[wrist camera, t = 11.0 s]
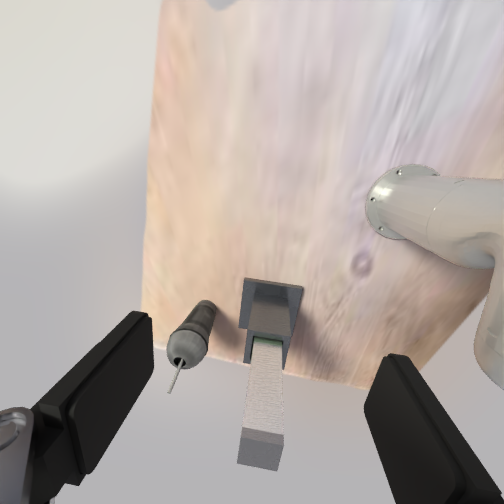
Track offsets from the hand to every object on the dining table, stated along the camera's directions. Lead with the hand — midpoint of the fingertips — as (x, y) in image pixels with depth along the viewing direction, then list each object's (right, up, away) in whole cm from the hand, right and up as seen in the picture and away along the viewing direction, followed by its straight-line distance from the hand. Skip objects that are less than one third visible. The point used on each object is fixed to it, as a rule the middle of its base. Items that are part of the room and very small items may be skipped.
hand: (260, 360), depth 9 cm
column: (+3, -10, +34) cm, 36 cm away
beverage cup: (-11, -8, +43) cm, 45 cm away
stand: (+3, -7, +41) cm, 42 cm away
